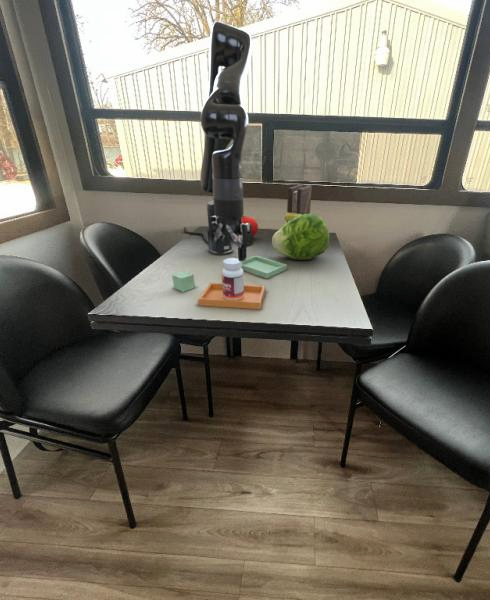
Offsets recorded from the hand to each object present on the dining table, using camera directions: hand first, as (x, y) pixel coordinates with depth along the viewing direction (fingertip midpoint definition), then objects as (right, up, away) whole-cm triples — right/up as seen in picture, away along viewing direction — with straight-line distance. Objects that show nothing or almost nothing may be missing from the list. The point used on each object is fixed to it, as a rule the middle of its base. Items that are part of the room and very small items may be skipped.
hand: (231, 256), depth 83 cm
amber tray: (0, -12, +6) cm, 13 cm away
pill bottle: (0, -11, +6) cm, 13 cm away
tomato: (-6, +18, +64) cm, 66 cm away
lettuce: (+21, +5, +41) cm, 46 cm away
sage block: (-17, -8, +11) cm, 22 cm away
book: (+21, +18, +67) cm, 72 cm away
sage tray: (+6, 0, +29) cm, 29 cm away
